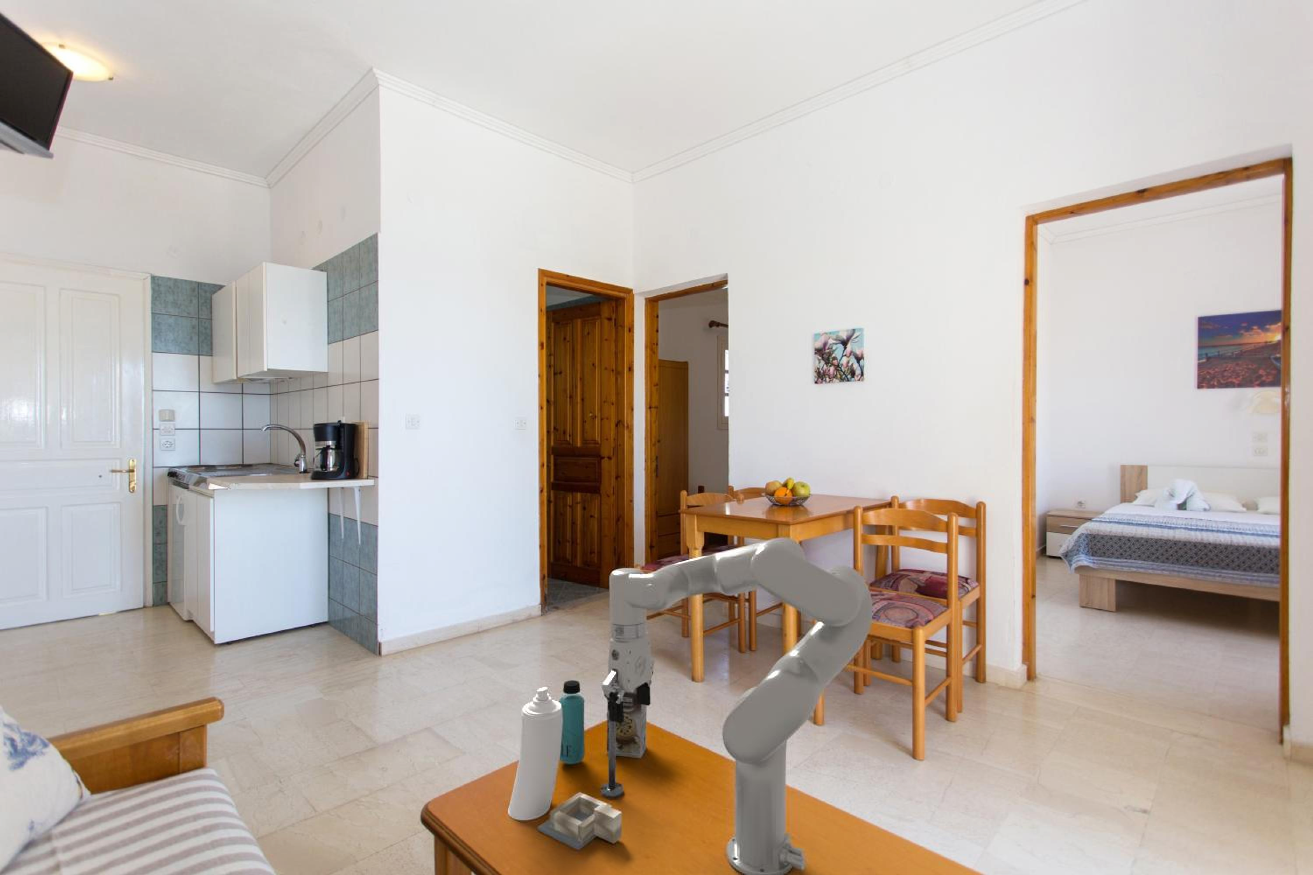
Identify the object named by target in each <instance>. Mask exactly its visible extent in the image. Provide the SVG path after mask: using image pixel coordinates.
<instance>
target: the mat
mask: <svg viewBox="0 0 1313 875" xmlns="http://www.w3.org/2000/svg"><path fill="white" fill-rule="evenodd" d="M572 817H573V818H575V819H577V820H579V821H581V822H583V821H585V820H586V819H587V818H589V817H590V815H588V814H586V813H584V812H581V811H579V812H578V813H576V814H575V815H574V816H572ZM537 830H538V831H539V832H541V833H543V834H545V835H546V836H548V837H551V838H553V839H554V840H557V841H559V842H560V843H563V844H565V845H567V846H568V847H571V848H573V849H575V850H577V851H580V850H581V849H582V848H583V847H585V846H586V845H587V844H588V843H590V842H591V841H592V840H593V839H594V838H597V836H596V835H593V836H591V837H590V838H589V839H588V840H586V841H585V842H584V843H582V842H580V841H578V840H576V839H574V838H572V837H570V836H568V835H566V834H563V833H561V832H559V831H557V830H555V829H553V828H551V827H550V818H549V819H547V820H546V821H545V822H543V823H542V824H540V825H539V826H537Z"/></svg>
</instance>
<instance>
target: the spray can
mask: <svg viewBox="0 0 1313 875" xmlns="http://www.w3.org/2000/svg"><path fill="white" fill-rule="evenodd" d="M521 710H522V711H521V713H520V714H521V725H520V726H521V732H520V748H519V759H518V763H517V768H516V773H515V779H514V782H513V787H512V793H511V798H510V802H509V806H508V809H507V813H508V816H509V817H510V818H512V819H514V820H517V821H530V820H534V819H538V818H540V817H542V816H544V815H545V814H547V813H548V811H549V810H550V809H551V808H550V807H551V804H552V799H553V795H554V792H555V786H556V781H557V780H556V779H557V775H558V771H559V764H560V751H561V738H562V725H563V715H562V708H561V704H560V703H559V701H557V700H554V699H553V698H552V696H550V694H549V693H548V687H541V688H538V689H537V690H536V695H535V696H534V697H533V699H532V701H531V702H528V703H526V704H525V705H523V707H522V709H521Z"/></svg>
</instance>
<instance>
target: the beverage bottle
mask: <svg viewBox="0 0 1313 875" xmlns="http://www.w3.org/2000/svg"><path fill="white" fill-rule="evenodd" d="M562 692H563V695H562V696H561V697H560V699H559V700H558V702H559V703H560V704H561V708H562V715H563V725H562V738H561V751H560V759H559V762H561V763H564V764H566V765H575V764H578V763H580V762H582V761H583V760H584V759H585V727H586V726H585V698H584V696H582V695H581V694H579V693H580V692H581V685H580V681H578V680H566V681H565V682H564V683H563V689H562Z"/></svg>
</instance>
